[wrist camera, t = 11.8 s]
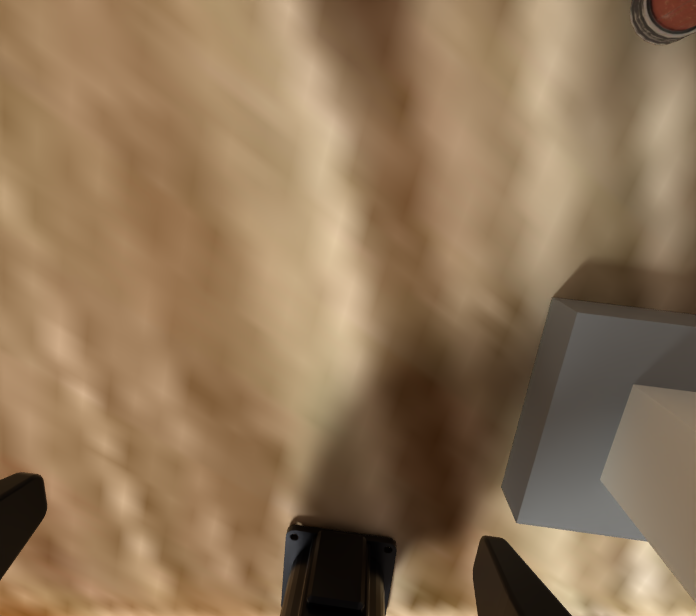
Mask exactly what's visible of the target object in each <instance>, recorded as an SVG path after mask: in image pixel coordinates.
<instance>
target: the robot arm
mask: <svg viewBox="0 0 696 616" xmlns="http://www.w3.org/2000/svg"><path fill="white" fill-rule="evenodd" d="M46 511H47V500H46V493H45V486H44V480H43V478H42V476H41V475H39V474H33V473H25V472H20V473H16V474H13V475H11V476H8V477H6V478H4V479H1V480H0V580H1V579H2V577H3V576H4V574H5V573H6V571H7V570H8V569H9V567H10V566H11V564H12V563H13V561H14V560H15V559H16V557H17V556H18V554H19V553H20V552H21V550H22V549H23V547H24V546H25V544H26V543H27V542H28V540H29V539H30V537H31V536H32V534H33V533H34V532H35V530H36V529H37V527H38V526H39V524H40V523H41V522H42V520H43V518H44V516H45V514H46ZM294 534H297V535H294ZM387 547H390V548H387ZM396 552H397V549H396V542H395V540H393V539H392V538H388V537H381V536H374V535H366V534H359V533H352V532H344V531H337V530H330V529H322V528H315V527H308V526H300V525H292V526H290V527H289V528H288V530H287V534H286V542H285V557H284V571H283V586H282V600H281V607H282V609H281V614H280V616H385V615H386V609H387V604H388V598H389V592H390V586H391V581H392V575H393V569H394V564H395V558H396ZM473 583H474V590H475V598H476V605H477V612H478V616H572V615H571V614H570V613H569V612H568V611H567V610H566V608H565V607H564V606H563V605H562V604H561V603H560V602H559V600H558V599H557V598H556V597H555V596H554V595H553V594H552V592H551V591H550V590H549V589H548V588H547V587H546V586H545V585H544V583H543V582H542V581H541V580H540V579H539V578H538V577H537V575H536V574H535V573H534V572H533V571H532V570H531V569H530V567H529V566H528V565H527V564H526V563H525V562H524V561H523V560H522V558H521V557H520V556H519V555H518V554H517V553H516V552H515V550H514V549H513V548H512V547H511V546H510V545H509V544H508V542H507V541H506V540H504V539H503V538H500V537H492V536H483V537H482V538H481V539H480V542H479V546H478V550H477V554H476V558H475V562H474V566H473Z"/></svg>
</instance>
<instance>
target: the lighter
mask: <svg viewBox="0 0 696 616" xmlns="http://www.w3.org/2000/svg"><path fill="white" fill-rule="evenodd" d="M630 18H631V24H632V26H633V28H634V30H635V32H636V33H637V34H638V35H639V36H640V37H641V38H642V39H643V40H644V41H647V42H649V43H652V44H655V45H667V44H670V43H672V42H675V41H678V40H680V39H682V38H684V37H686V36H688V35H690V34H692V33H694V32H696V0H632V4H631V8H630Z"/></svg>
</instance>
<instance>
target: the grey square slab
mask: <svg viewBox="0 0 696 616" xmlns="http://www.w3.org/2000/svg"><path fill="white" fill-rule="evenodd" d="M633 384H635V385H643V386H651V387H659V388H667V389H675V390H683V391H690V392H696V315H695V314H687V313H678V312H670V311H662V310H654V309H645V308H637V307H629V306H621V305H612V304H604V303H596V302H588V301H580V300H571V299H563V298H555V297H552V300H551V303H550V307H549V311H548V315H547V318H546V322H545V326H544V329H543V333H542V337H541V341H540V344H539V348H538V352H537V356H536V359H535V363H534V367H533V370H532V374H531V378H530V382H529V385H528V389H527V393H526V397H525V400H524V404H523V408H522V411H521V415H520V419H519V423H518V426H517V430H516V434H515V437H514V441H513V445H512V449H511V452H510V456H509V460H508V464H507V467H506V471H505V475H504V478H503V482H502V486H501V488H502V490H503V493H504V495H505V497H506V500H507V502H508V504H509V507H510V509H511V511H512V514H513V516H514V519H515V521H516V523H519V524H526V525H533V526H541V527H548V528H555V529H562V530H569V531H576V532H583V533H591V534H598V535H605V536H612V537H619V538H626V539H633V540H641V541H647V540H646V538H645V537H644V536H643V534H642V533H641V532H640V531H639V529H638V528H637V527H636V525H635V524H634V523H633V522H632V520H631V519H630V518H629V516H628V515H627V514H626V513H625V511H624V510H623V509H622V507H621V506H620V505H619V504H618V502H617V501H616V500H615V498H614V497H613V496H612V495H611V493H610V492H609V491H608V489H607V488H606V487H605V486H604V484H603V483H602V482H601V480H600V478H601V475H602V472H603V469H604V466H605V464H606V461H607V458H608V455H609V452H610V449H611V446H612V444H613V441H614V438H615V435H616V432H617V429H618V427H619V424H620V421H621V418H622V415H623V412H624V409H625V407H626V404H627V401H628V398H629V395H630V392H631V389H632V387H633Z"/></svg>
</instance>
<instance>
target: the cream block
mask: <svg viewBox="0 0 696 616" xmlns="http://www.w3.org/2000/svg"><path fill="white" fill-rule="evenodd" d="M600 480H601V482H602V483H603V484H604V486H605V487H606V488H607V489H608V491H609V492H610V493H611V495H612V496H613V497H614V498H615V500H616V501H617V502H618V504H619V505H620V506H621V507H622V509H623V510H624V511H625V513H626V514H627V515H628V516H629V518H630V519H631V520H632V522H633V523H634V524H635V525H636V527H637V528H638V529H639V531H640V532H641V533H642V534H643V536H644V537H645V538H646V540H647V541H648V542H649V543H650V545H651V546H652V547H653V549H654V550H655V551H656V552H657V554H658V555H659V556H660V558H661V559H662V560H663V561H664V563H665V564H666V565H667V567H668V568H669V569H670V570H671V572H672V573H673V574H674V576H675V577H676V578H677V579H678V581H679V582H680V583H681V585H682V586H683V587H684V588H685V590H686V591H687V592H688V594H689V595H690V596H691V597H692V599H693V600H694V601H695V603H696V392H690V391H683V390H675V389H667V388H659V387H651V386H643V385H635V384H633V387H632V389H631V392H630V395H629V398H628V401H627V404H626V407H625V409H624V412H623V415H622V418H621V421H620V424H619V427H618V429H617V432H616V435H615V438H614V441H613V444H612V446H611V449H610V452H609V455H608V458H607V461H606V464H605V466H604V469H603V472H602V475H601V478H600Z"/></svg>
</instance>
